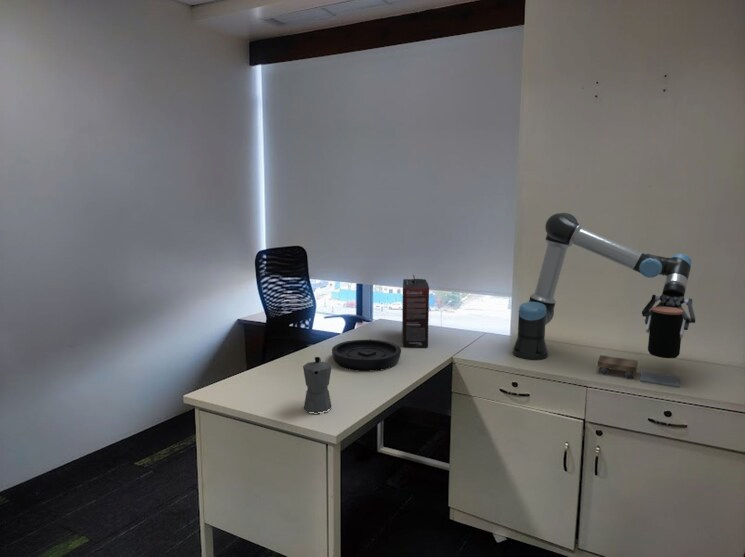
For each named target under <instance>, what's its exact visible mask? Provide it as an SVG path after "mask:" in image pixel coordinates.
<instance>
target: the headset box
mask: <svg viewBox="0 0 745 557" xmlns="http://www.w3.org/2000/svg"><path fill="white" fill-rule="evenodd" d="M412 276H413V278H410V279H408V278H407V279H406V278H403V282H402V309H401V310H402V314H401V315H402V320H401V321H402V322H401V323H402V329H401V330H402V332H401V333H402V346H403V348H428V347H429V322H430V321H429V320H430V319H429V318H430V317H429V314H430V313H429V312H430V311H429V310H430V308H429V307H430V286H429V283H428V281H427V279H425V278H424V279H423V278H416V277H415V275H414V274H413V275H412Z"/></svg>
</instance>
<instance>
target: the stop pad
mask: <svg viewBox="0 0 745 557" xmlns="http://www.w3.org/2000/svg"><path fill="white" fill-rule="evenodd" d="M639 377H640V379H639V380H640V382H641V381H642V383H647V382H648V384H653V383H654V384H655V385H659V384H660V386H666V387H674V388H678V389H680V379H679V376H677V375H671V374H665V373H657V372H650V371H646V370H645V371H643V370H641V371H640V376H639Z"/></svg>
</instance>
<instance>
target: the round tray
mask: <svg viewBox="0 0 745 557" xmlns="http://www.w3.org/2000/svg"><path fill="white" fill-rule="evenodd" d="M401 353H402V348H401V347H400V346H399V345H397V344H395V343H393V342H390V341H385V340H379V339H354V340H347V341H344V342H340V343H337V344H335V345H334V346H333V347H332V349H331V354H332V355H331V356H332V357H333V358H332V359H333V360H334V362H335V363H336V365H337V366H338V367H341V368H342V369H345V368H346V369H347V370H349V369H350V371H355V370H359V372H371V371H370V370H378V371H382V370H381V369H384V370H387V369H386V368H388V369H390V368H393V367H394V366H396V365H397V364H398V362H399V360H400V359H401ZM392 366H393V367H392ZM389 367H390V368H389Z"/></svg>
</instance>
